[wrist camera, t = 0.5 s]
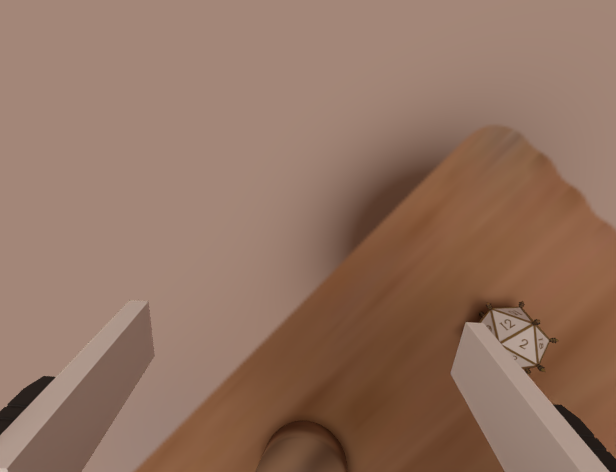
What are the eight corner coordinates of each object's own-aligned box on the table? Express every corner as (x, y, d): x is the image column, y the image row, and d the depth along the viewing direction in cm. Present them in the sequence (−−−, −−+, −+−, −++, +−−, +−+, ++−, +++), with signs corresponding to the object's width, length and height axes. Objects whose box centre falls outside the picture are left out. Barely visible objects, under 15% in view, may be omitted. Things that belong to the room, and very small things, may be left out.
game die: (493, 336, 45) (558, 398, 36) (440, 340, 43) (495, 407, 34) (518, 281, 42) (597, 336, 33) (461, 283, 39) (529, 341, 31)
